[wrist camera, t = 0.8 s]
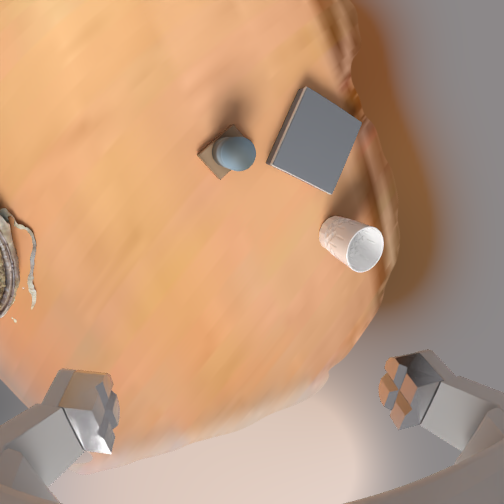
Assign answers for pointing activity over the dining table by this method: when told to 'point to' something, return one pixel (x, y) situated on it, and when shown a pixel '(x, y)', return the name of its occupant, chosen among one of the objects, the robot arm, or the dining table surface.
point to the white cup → (352, 242)
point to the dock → (314, 140)
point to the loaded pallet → (208, 153)
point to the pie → (12, 264)
